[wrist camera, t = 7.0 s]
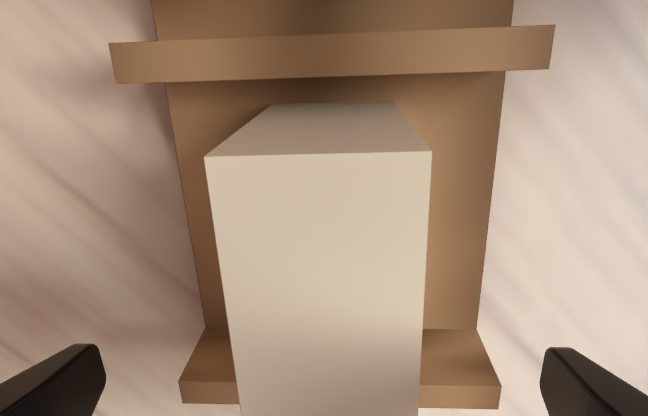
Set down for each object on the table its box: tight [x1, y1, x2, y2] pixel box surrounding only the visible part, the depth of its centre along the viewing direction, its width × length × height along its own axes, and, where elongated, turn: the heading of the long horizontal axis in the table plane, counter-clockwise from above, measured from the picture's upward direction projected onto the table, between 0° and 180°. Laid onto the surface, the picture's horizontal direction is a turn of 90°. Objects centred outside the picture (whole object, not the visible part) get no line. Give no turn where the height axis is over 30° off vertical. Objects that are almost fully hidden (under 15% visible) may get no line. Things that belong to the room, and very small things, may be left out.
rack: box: [108, 0, 555, 409], centre depth 12 cm, size 11×23×4 cm, turn 2°
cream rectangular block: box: [204, 100, 432, 416], centre depth 12 cm, size 4×8×7 cm, turn 2°
